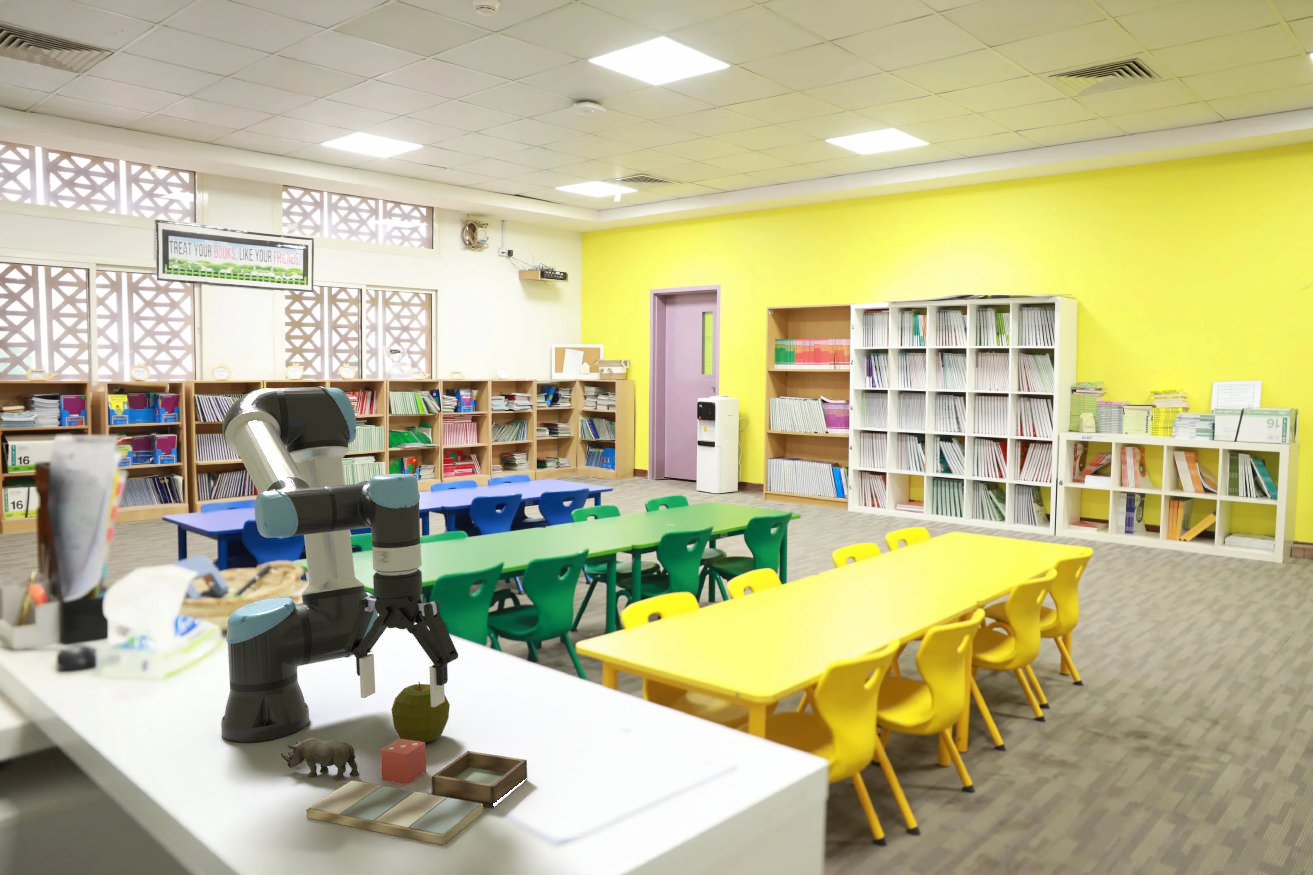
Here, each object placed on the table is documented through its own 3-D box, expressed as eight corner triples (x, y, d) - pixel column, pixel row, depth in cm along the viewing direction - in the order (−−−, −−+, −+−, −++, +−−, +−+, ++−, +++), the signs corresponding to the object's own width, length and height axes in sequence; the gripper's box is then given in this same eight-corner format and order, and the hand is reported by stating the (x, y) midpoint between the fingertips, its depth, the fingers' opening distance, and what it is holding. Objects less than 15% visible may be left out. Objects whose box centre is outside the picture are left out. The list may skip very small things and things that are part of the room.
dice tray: (432, 797, 137) (431, 776, 136) (468, 770, 146) (467, 750, 146) (494, 808, 133) (493, 786, 132) (527, 779, 142) (526, 759, 142)
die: (381, 780, 143) (380, 749, 143) (401, 767, 148) (400, 738, 147) (407, 784, 141) (406, 754, 141) (426, 771, 146) (425, 742, 146)
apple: (396, 755, 152) (394, 693, 152) (389, 735, 161) (387, 676, 161) (454, 745, 156) (452, 684, 156) (445, 726, 165) (443, 668, 165)
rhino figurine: (290, 765, 150) (288, 730, 149) (363, 772, 146) (361, 736, 146) (274, 775, 146) (272, 740, 145) (348, 783, 142) (347, 746, 142)
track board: (306, 817, 131) (306, 808, 131) (352, 787, 140) (352, 779, 140) (443, 844, 122) (443, 834, 122) (483, 811, 132) (482, 802, 132)
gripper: (318, 570, 143) (324, 699, 145) (450, 579, 135) (454, 716, 136) (350, 561, 150) (355, 684, 152) (476, 569, 142) (481, 699, 143)
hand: (402, 699), depth 144 cm, fingers open, 13 cm apart
